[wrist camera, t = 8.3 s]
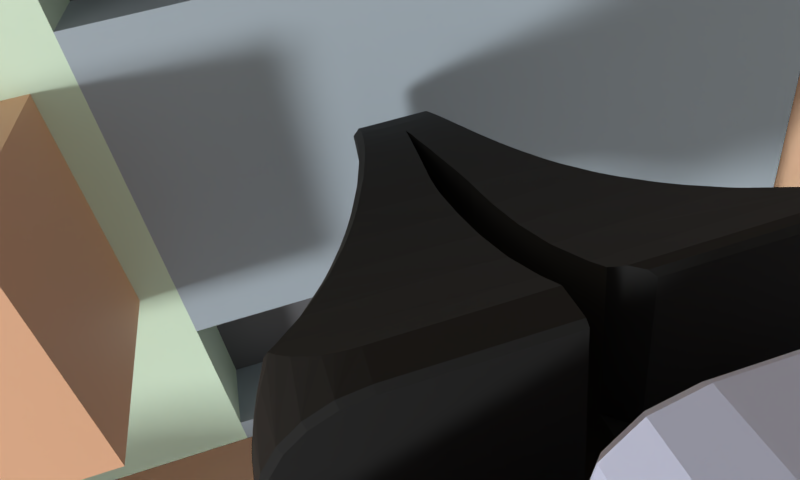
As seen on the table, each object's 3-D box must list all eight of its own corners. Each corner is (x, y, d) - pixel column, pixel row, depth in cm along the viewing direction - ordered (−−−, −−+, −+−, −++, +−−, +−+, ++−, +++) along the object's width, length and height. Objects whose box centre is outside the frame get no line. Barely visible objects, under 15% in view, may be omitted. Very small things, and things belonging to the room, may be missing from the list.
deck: (815, -418, 11) (1002, -478, 8) (706, 238, 19) (783, 306, 17) (-520, -185, 9) (-815, -172, 6) (15, 448, 17) (-15, 564, 14)
